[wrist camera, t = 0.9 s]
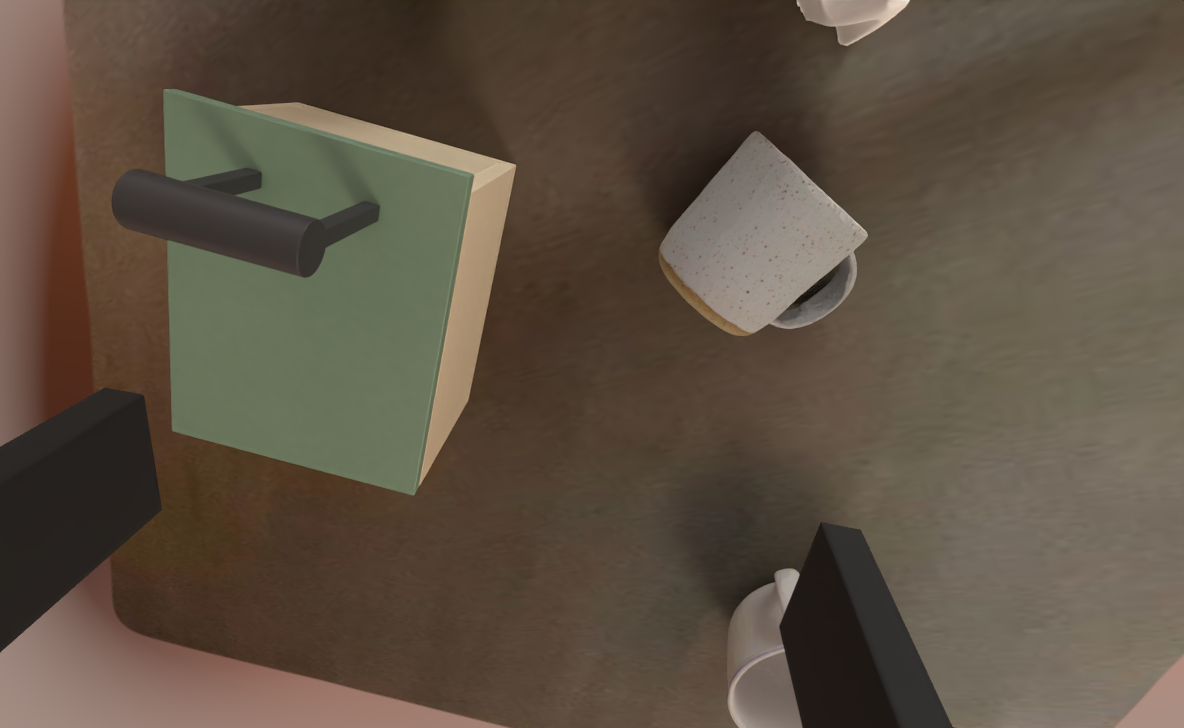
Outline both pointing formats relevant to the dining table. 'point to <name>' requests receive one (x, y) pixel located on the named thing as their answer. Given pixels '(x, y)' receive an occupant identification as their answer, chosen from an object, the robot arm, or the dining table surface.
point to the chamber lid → (301, 287)
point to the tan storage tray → (474, 257)
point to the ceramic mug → (761, 244)
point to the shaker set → (851, 15)
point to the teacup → (761, 659)
